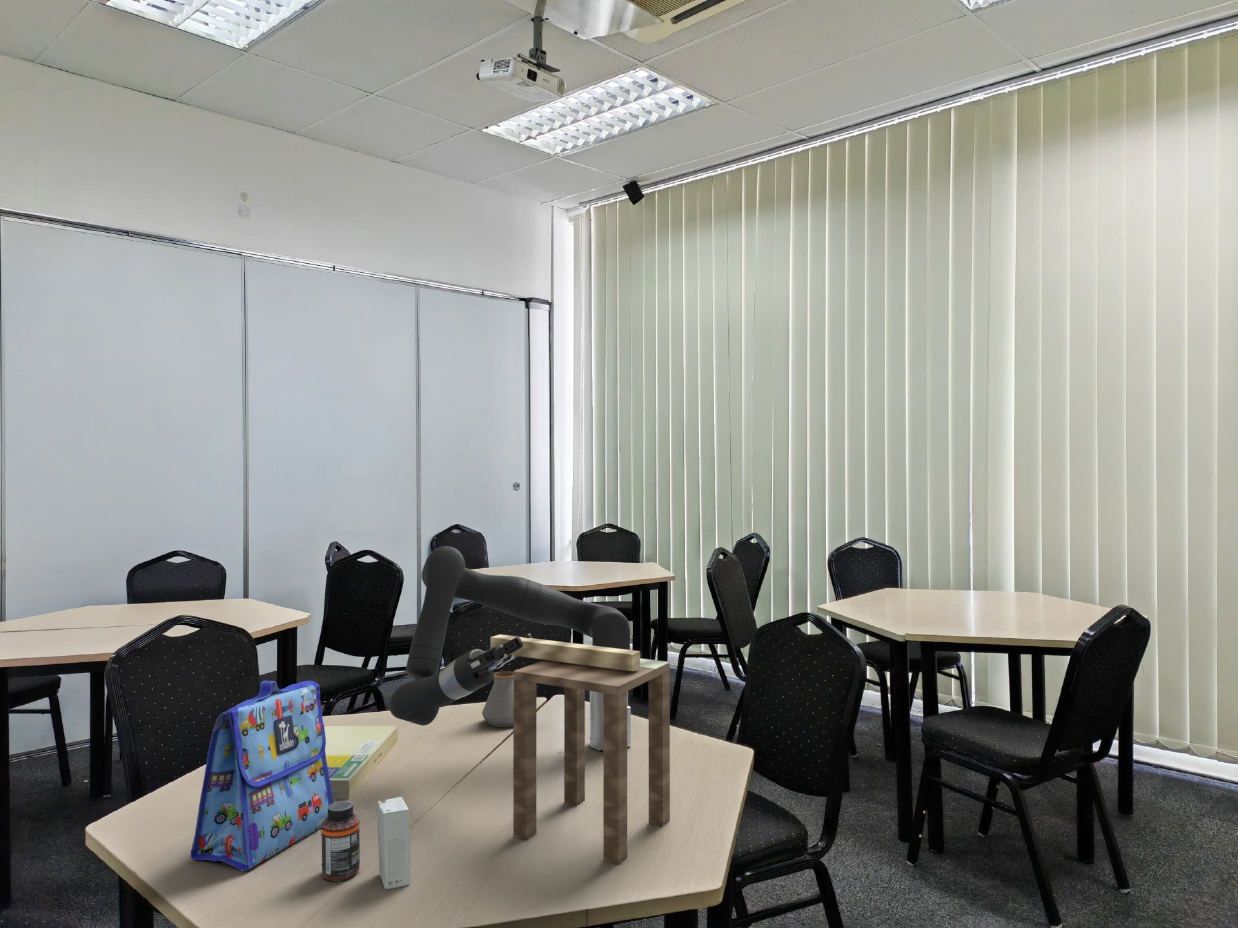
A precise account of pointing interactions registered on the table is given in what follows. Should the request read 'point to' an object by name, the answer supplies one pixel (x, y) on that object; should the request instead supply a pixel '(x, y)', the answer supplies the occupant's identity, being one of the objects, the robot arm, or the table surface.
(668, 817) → the walnut stand
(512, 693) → the coffee pot
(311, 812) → the lunch bag
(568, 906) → the table surface
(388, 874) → the skincare box
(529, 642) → the maple rod
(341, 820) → the supplement bottle
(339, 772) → the puzzle box
